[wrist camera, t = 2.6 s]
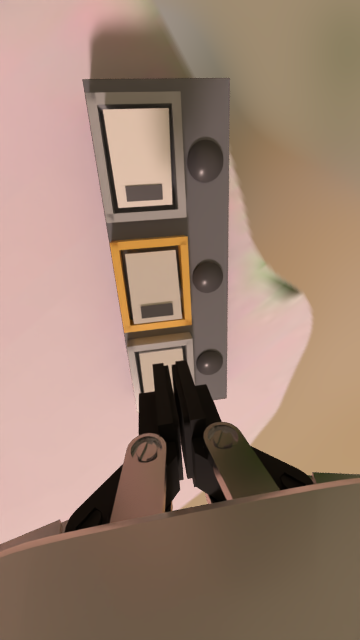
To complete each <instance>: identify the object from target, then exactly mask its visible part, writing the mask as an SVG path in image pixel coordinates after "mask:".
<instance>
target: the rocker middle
mask: <svg viewBox="0 0 360 640" xmlns="http://www.w3.org/2000/svg"><path fill="white" fill-rule="evenodd" d="M125 258H126V266H127V274H128V282H129V290H130V297H131V305H132V313H133V321H134V324H141V323H149V322H158V321H166V320H175V319H182V312H181V301H180V291H179V281H178V271H177V260H176V250H168V251H157V252H145V253H133V254H125Z"/></svg>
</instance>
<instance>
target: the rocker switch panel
mask: <svg viewBox="0 0 360 640" xmlns="http://www.w3.org/2000/svg"><path fill="white" fill-rule="evenodd" d="M82 80H83V86H84V92H85V98H86V104H87V110H88V116H89V122H90V129H91V135H92V141H93V147H94V153H95V159H96V165H97V171H98V177H99V183H100V190H101V196H102V202H103V208H104V214H105V220H106V226H107V232H108V238H109V244H110V250H111V257H112V263H113V269H114V275H115V281H116V287H117V293H118V299H119V305H120V311H121V318H122V324H123V330H124V336H125V342H126V348H127V354H128V360H129V366H130V372H131V379H132V385H133V391H134V397H135V403H136V409H137V413H139V393H144V387H143V379H142V371H141V364H140V356H139V351H146V350H154V349H161V348H169V347H177V346H181V347H182V352H183V360H187V363H188V366H189V369H190V372H191V375H192V378H193V381H194V384H195V386H196V385H203V384H206V385H207V387H208V389H209V392H210V394H211V397H212V399H213V400H218V399H225V398H227V301H228V202H229V101H230V100H229V98H230V95H229V94H230V78H178V79H82ZM149 108H169V130H170V156H171V181H172V205H157V206H142V207H127V208H118V203H117V196H116V190H115V184H114V177H113V171H112V165H111V158H110V152H109V146H108V139H107V133H106V127H105V120H104V114H103V110H104V109H149ZM168 250H176V260H177V271H178V281H179V291H180V301H181V312H182V319H175V320H166V321H158V322H149V323H141V324H134V321H133V313H132V305H131V297H130V290H129V282H128V274H127V266H126V258H125V254H133V253H145V252H157V251H168Z"/></svg>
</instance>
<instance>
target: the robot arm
mask: <svg viewBox="0 0 360 640" xmlns="http://www.w3.org/2000/svg"><path fill="white" fill-rule="evenodd" d="M152 366H153V377H154V389H155V391H153V392H146V393H139V436H137V437H136V438H134V439H133V440H132V441H131V442H130V443H129V445H128V447H127V450H126V454H125V459H124V463H123V465H122V466H121V467H120V468H119V469H118V470H116V471H115V472H114V473H113V474H112V475H111V476H110V477H109V478H108V479H107V480H106V481H105V482H104V483H103V484H102V485H101V486H100V487H99V488H98V489H97V490H96V491H95V492H94V493H93V494H92V495H91V496H90V497H89V498H88V499H87V500H86V501H85V502H84V503H83V504H82V505H81V506H80V507H79V508H78V509H77V510H76V511H75V512H74V513H73V515H72V516H71V517H70V519H69V520H67V521H64V522H62V523H61V521H60V520H58V521H55V522H53V523H50V524H48V525H46V526H43V527H41V528H38V529H36V530H34V531H31V532H29V533H26V534H24V535H22V536H19V537H17V538H15V539H12V540H10V541H7V542H5V543H3V544H0V640H360V475H359V474H337V473H317V472H313V473H312V476H310V475H306V474H305V473H304V472H302V471H301V470H299V469H297V468H295V467H293V466H290V465H289V464H287V463H285V462H282V461H280V460H278V459H276V458H274V457H272V456H270V455H268V454H266V453H264V452H262V451H260V450H258V449H256V448H254V447H252V446H250V445H249V443H248V442H247V440H246V439H245V437H244V436H243V434H242V433H241V431H240V430H239V429H238V428H237V427H236V426H234V425H232V424H230V423H227V422H221V419H220V417H219V414H218V412H217V409H216V407H215V404H214V402H213V399H212V397H211V394H210V392H209V389H208V387H207V385H206V384H203V385H196V386H195V384H194V381H193V378H192V375H191V372H190V369H189V366H188V363H187V360H181V361H175V364H173V365H171V366H172V378H173V388H172V383H171V378H170V372H169V367H168V365H166V366H164V363H158V364H152ZM173 390H174V393H173ZM181 446H182V452H183V457H184V463H185V468H186V474H187V478H188V479H190V478H192V479H193V484H194V487H198V488H199V489H201V490H202V491H204V492H205V495H206V500H207V502H208V504H206V505H201V506H196V507H190V508H186V509H180V510H175V511H173V505H172V500H173V499H174V497H175V496H176V495H177V493H178V492H179V491H180V483H179V480H183V467H182V454H181Z"/></svg>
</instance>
